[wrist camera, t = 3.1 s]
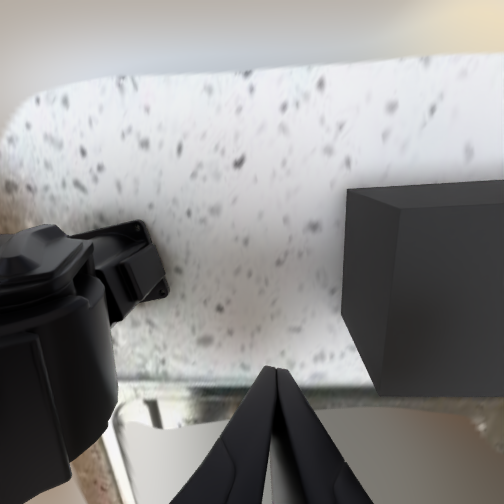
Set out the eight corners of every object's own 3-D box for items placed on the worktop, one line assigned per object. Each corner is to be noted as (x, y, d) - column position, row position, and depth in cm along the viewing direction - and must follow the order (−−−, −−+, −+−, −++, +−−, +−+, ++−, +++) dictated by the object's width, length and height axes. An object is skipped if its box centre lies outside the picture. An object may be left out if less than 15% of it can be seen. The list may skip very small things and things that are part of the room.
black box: (340, 314, 22) (378, 396, 14) (346, 188, 18) (400, 208, 11) (484, 311, 21) (608, 397, 13) (517, 178, 18) (705, 192, 10)
